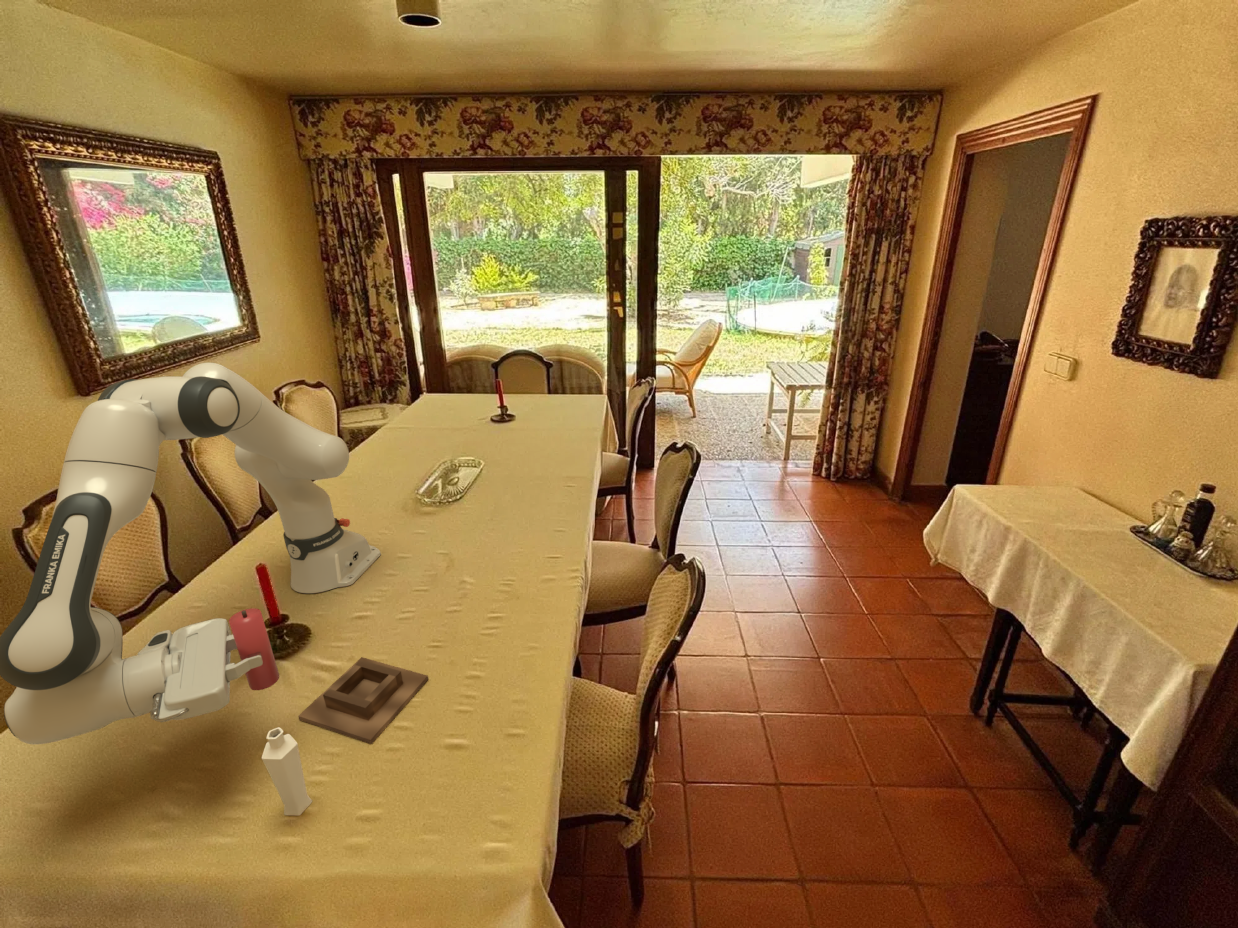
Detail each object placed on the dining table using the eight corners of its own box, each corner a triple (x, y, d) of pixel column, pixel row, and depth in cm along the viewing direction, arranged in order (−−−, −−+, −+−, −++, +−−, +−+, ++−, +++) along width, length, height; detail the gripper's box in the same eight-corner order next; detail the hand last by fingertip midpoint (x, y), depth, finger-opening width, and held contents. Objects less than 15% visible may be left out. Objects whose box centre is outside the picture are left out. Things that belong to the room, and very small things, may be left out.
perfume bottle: (274, 807, 89) (250, 735, 83) (303, 787, 92) (281, 716, 86) (288, 825, 86) (264, 752, 80) (318, 803, 89) (296, 732, 83)
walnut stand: (362, 660, 118) (359, 645, 116) (428, 679, 113) (425, 663, 112) (299, 719, 104) (294, 703, 103) (371, 744, 99) (367, 726, 98)
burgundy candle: (259, 671, 99) (238, 603, 93) (284, 671, 99) (265, 603, 93) (243, 690, 95) (220, 620, 89) (270, 690, 95) (248, 620, 89)
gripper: (141, 708, 79) (258, 670, 85) (158, 626, 95) (255, 600, 101) (155, 742, 81) (268, 703, 88) (169, 657, 97) (264, 629, 104)
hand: (261, 647), depth 95 cm, fingers closed on burgundy candle, 4 cm apart
